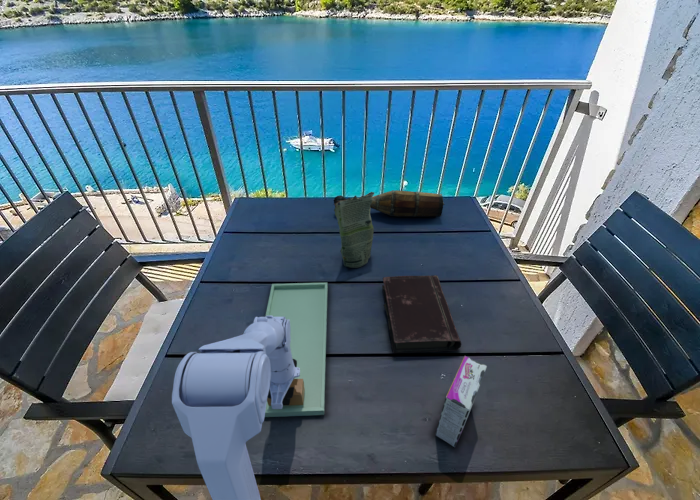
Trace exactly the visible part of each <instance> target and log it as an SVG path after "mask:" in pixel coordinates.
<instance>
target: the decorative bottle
mask: <svg viewBox="0 0 700 500" xmlns="http://www.w3.org/2000/svg"><path fill="white" fill-rule="evenodd" d="M352 198H353V197H347V198H346V197H345V196H344V195H337V196H335V197H334V198H333V204H332V206H333V205H334V204H336V203H338V202H339V201H342V200H351V199H352ZM359 198H360V197H357V199H359ZM444 205H446V204H445V202H444V196H443V193H433V192H424V191H410V190H409V191H408V190H398V189H397V190H394V189H393V190H392V189H391V191H385V192H383V193H379V194H377V195H373V198H372V203H371V205H370V209H371V210H372V209H373V210H375V211H378V212H380V213H382V214H385V215H387V216H390V217H416V218H417V217H422V218H423V217H424V218H425V217H441V216H442V215H443V210H444ZM334 206H335V205H334Z"/></svg>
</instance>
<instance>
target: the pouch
mask: <svg viewBox="0 0 700 500" xmlns="http://www.w3.org/2000/svg"><path fill="white" fill-rule="evenodd" d="M373 196H375V191H374V192H373V191H370V192H368V193H367V194H365V195H361V196H360V197H358V196H357V195H354V196H353V197H351V198H352V199H351V200H342V201H339V202H338V203H336V204H334V203H333V204H334V209H333V211H334V216H335V217H336V220H337V225H338V228H339V230H338V232H339V236H340V243H341V244H340V245H341V248H340V251H339V252H340V254H341V258H342V261H343V266H344V267H347V268H353V269H354V268H361V267H363V266H365V265H367V264H368V261H369V259H370V258H371V255H372V254H371V253H372V247H373V241H374V232H375V229H374V225H373V221H372V217H371V208H370V205H371V203H372V198H373ZM357 198H359V199H357Z"/></svg>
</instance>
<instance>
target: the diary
mask: <svg viewBox="0 0 700 500" xmlns="http://www.w3.org/2000/svg"><path fill="white" fill-rule="evenodd" d="M382 280H383V284H382V293H383V300H384V304H383V307H384V310H385V312H386V317H387V325H388V331H389V336H390V337H389V338H390V343H391V348H392V353H393V354H412V353H435V352H436V353H437V352H457V351H459V350H460V349H461V347H462V342H461V338H460V336H459V333H458V331H457V328H456V325H455V322H454V320H453V317H452V313H451V310H450V308H449V304H448V302H447V299H446V296H445V294H444V291H443V288H442V285H441V282H440V279H439V276H438V275H433V274H432V275H395V276H394V275H393V276H385V277H384V276H383V277H382Z"/></svg>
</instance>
